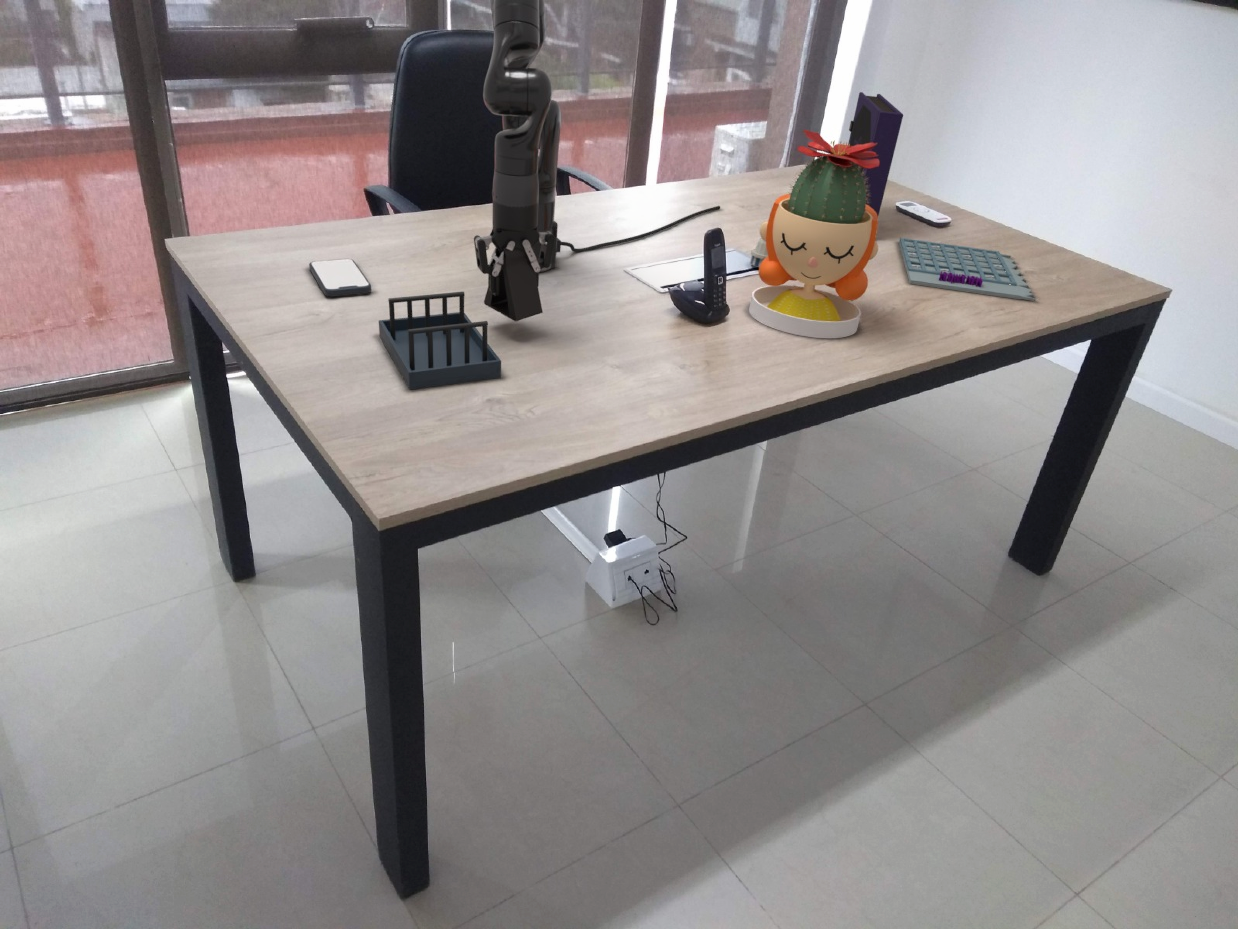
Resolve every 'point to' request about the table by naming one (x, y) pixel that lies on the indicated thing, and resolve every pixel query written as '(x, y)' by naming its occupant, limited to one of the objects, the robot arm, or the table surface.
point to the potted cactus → (819, 244)
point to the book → (876, 141)
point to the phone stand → (515, 287)
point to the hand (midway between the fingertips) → (513, 292)
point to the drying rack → (438, 345)
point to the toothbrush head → (759, 253)
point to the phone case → (339, 277)
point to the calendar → (963, 269)
